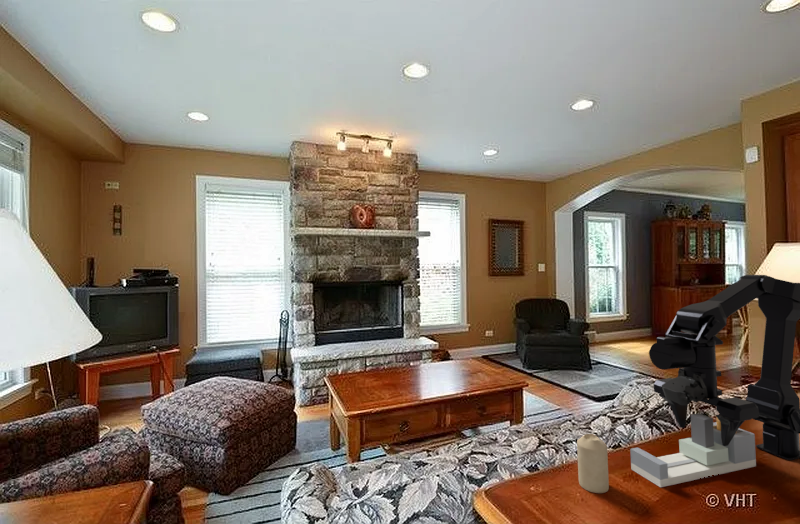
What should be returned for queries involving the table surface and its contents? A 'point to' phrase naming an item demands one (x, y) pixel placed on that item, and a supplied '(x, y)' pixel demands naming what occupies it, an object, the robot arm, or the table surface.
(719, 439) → the rail
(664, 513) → the table surface
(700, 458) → the carriage
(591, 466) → the candle
